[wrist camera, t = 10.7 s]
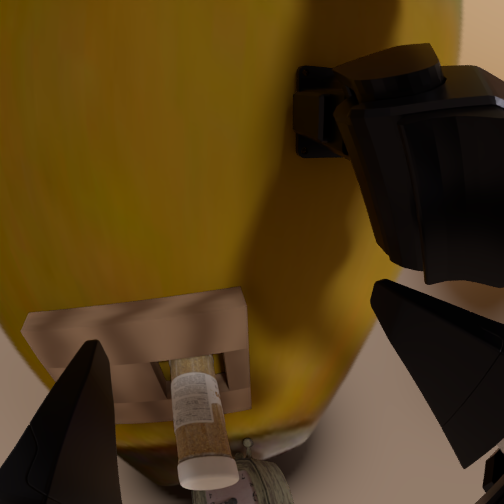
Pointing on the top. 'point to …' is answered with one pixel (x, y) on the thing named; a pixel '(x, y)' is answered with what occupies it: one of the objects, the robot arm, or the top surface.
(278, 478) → the tabletop clock
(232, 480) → the sprinkles bottle
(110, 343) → the wooden board
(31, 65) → the top surface
